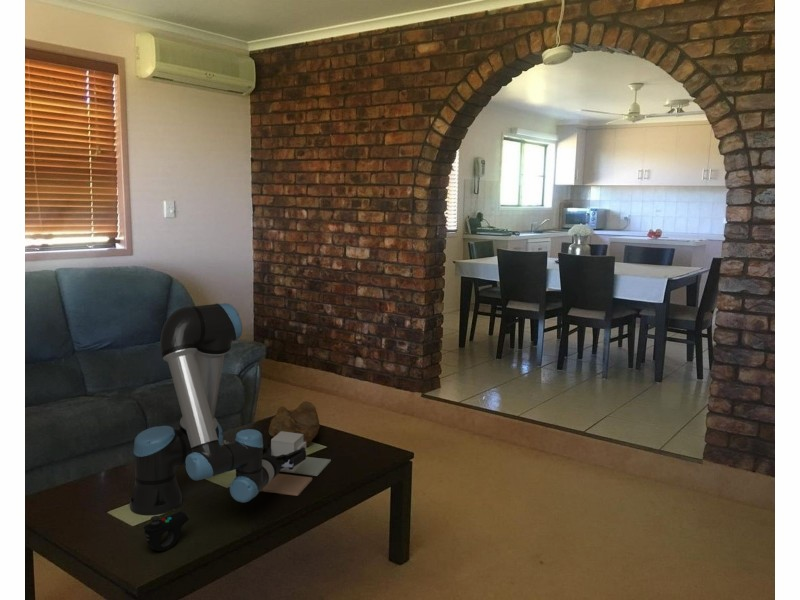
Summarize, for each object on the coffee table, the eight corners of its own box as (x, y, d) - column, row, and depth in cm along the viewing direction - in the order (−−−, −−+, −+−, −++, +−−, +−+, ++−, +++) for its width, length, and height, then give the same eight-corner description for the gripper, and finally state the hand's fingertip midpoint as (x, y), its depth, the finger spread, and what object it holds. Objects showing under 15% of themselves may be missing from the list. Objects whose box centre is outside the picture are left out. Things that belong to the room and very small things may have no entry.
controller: (142, 554, 172) (140, 519, 171) (181, 536, 182) (180, 502, 181) (152, 559, 170) (150, 523, 168) (191, 540, 180) (190, 506, 179)
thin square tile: (297, 495, 209) (297, 493, 209) (260, 491, 212) (260, 488, 212) (312, 479, 222) (312, 477, 222) (276, 475, 225) (276, 473, 225)
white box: (293, 471, 211) (294, 442, 210) (270, 468, 213) (271, 439, 211) (302, 462, 219) (303, 434, 217) (280, 459, 221) (281, 431, 219)
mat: (317, 475, 225) (317, 474, 225) (279, 471, 228) (279, 469, 228) (330, 461, 239) (330, 459, 238) (295, 456, 242) (295, 455, 242)
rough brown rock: (294, 458, 242) (297, 420, 240) (261, 445, 251) (264, 408, 249) (333, 443, 262) (336, 407, 259) (302, 431, 270) (305, 396, 268)
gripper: (232, 477, 201) (264, 450, 223) (295, 487, 196) (321, 458, 218) (232, 454, 199) (264, 429, 221) (296, 463, 195) (322, 437, 217)
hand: (293, 443), depth 220 cm, fingers closed on white box, 8 cm apart
